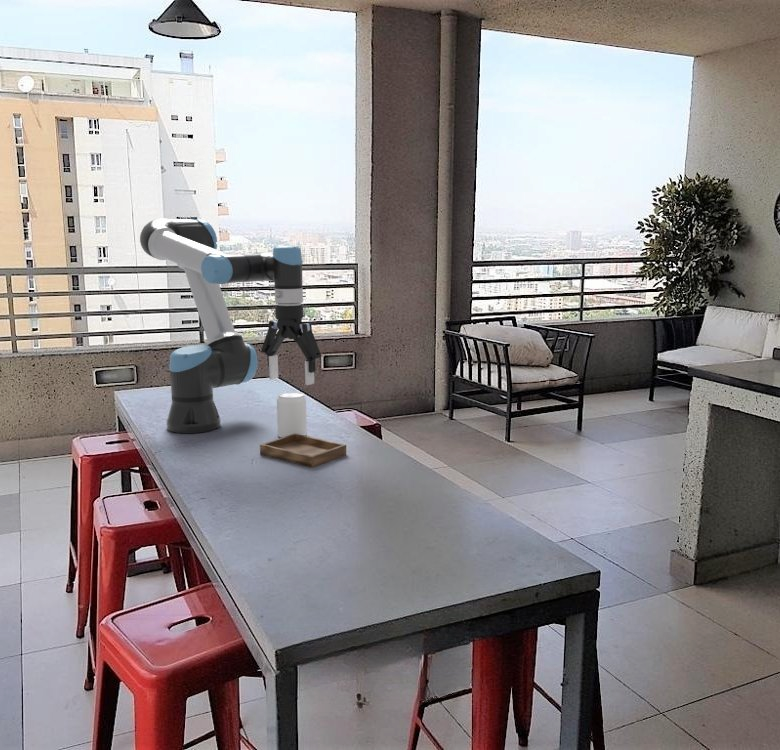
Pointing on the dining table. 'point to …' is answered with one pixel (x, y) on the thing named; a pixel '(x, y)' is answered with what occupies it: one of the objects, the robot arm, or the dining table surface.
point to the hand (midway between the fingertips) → (291, 381)
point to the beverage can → (291, 414)
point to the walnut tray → (303, 450)
